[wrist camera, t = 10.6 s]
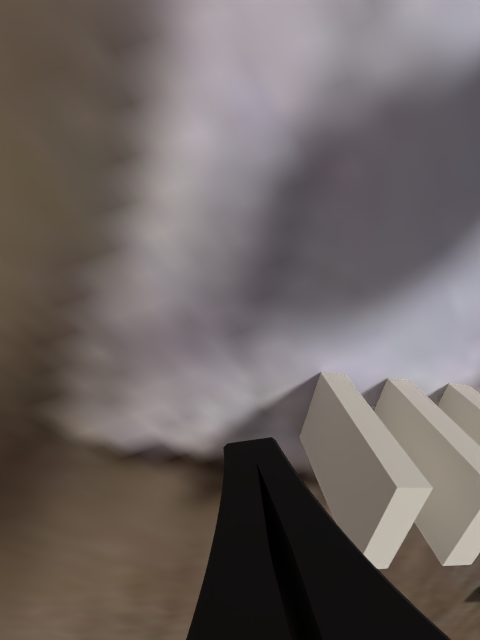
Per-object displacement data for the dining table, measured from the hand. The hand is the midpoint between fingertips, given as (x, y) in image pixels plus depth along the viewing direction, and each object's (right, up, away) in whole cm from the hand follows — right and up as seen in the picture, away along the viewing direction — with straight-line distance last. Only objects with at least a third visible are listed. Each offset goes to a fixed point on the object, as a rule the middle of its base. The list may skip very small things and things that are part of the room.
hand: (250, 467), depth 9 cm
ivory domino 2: (+9, -2, +13) cm, 16 cm away
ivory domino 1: (+5, -1, +12) cm, 13 cm away
